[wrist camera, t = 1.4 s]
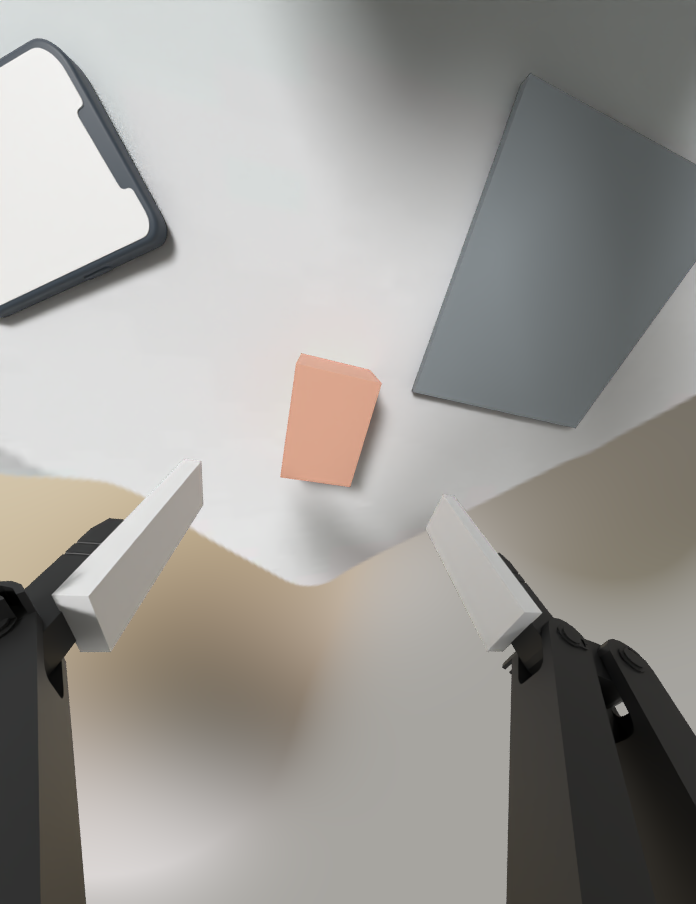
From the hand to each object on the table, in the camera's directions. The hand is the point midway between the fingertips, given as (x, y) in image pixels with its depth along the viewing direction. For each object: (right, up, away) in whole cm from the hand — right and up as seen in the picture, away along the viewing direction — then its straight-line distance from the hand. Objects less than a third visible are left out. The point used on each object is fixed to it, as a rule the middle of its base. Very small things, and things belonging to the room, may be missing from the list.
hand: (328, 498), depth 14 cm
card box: (-1, +7, +12) cm, 14 cm away
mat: (+20, +16, +9) cm, 27 cm away
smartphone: (-20, +19, +3) cm, 28 cm away
